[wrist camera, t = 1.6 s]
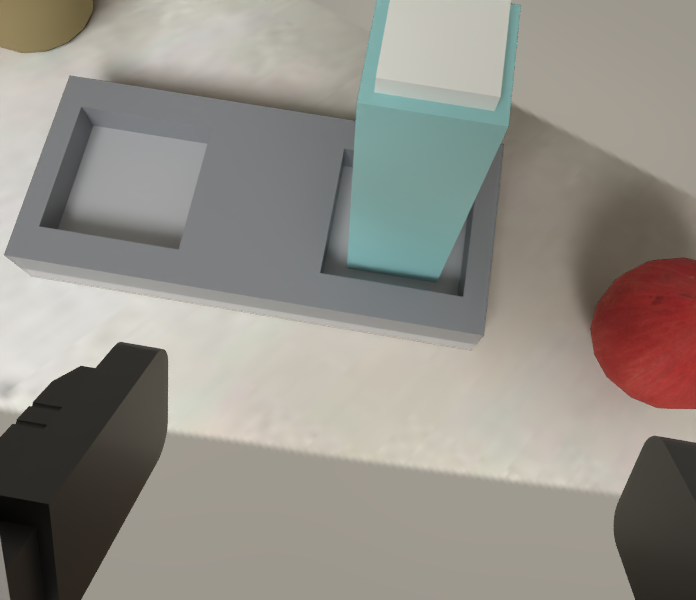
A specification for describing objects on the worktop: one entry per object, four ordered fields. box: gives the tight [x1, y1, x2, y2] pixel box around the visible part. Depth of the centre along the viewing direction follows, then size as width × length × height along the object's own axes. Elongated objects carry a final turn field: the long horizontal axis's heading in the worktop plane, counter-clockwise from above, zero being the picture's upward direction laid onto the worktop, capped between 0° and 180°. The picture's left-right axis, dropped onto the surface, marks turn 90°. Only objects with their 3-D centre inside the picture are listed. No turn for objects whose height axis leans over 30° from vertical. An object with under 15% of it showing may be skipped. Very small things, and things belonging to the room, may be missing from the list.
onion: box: [590, 258, 696, 409], centre depth 24 cm, size 6×6×8 cm
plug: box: [347, 0, 521, 283], centre depth 23 cm, size 4×5×13 cm
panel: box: [4, 76, 504, 350], centre depth 29 cm, size 20×9×2 cm, turn 80°
